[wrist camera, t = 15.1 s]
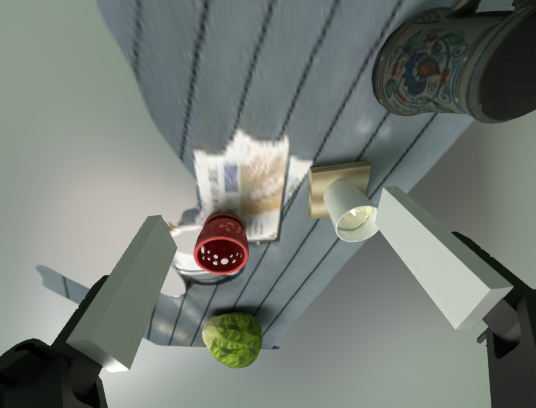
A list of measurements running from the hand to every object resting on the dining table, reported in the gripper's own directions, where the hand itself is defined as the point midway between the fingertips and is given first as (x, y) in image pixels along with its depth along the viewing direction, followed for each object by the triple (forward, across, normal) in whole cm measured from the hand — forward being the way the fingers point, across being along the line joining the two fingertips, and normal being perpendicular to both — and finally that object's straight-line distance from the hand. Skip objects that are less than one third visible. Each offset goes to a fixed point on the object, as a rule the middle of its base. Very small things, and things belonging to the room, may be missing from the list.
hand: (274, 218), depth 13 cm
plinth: (+37, +18, -22) cm, 46 cm away
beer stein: (+37, +30, +5) cm, 48 cm away
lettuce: (+37, -20, -78) cm, 89 cm away
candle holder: (+34, +18, -22) cm, 44 cm away
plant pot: (+37, -13, -30) cm, 49 cm away
